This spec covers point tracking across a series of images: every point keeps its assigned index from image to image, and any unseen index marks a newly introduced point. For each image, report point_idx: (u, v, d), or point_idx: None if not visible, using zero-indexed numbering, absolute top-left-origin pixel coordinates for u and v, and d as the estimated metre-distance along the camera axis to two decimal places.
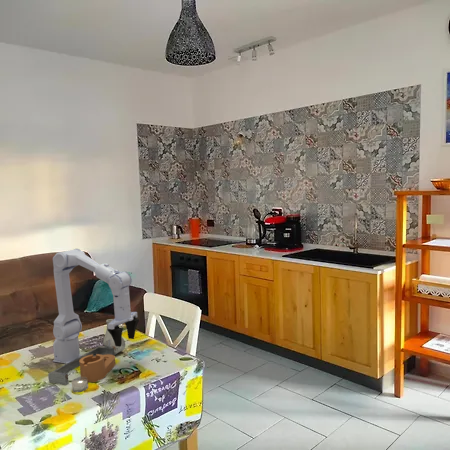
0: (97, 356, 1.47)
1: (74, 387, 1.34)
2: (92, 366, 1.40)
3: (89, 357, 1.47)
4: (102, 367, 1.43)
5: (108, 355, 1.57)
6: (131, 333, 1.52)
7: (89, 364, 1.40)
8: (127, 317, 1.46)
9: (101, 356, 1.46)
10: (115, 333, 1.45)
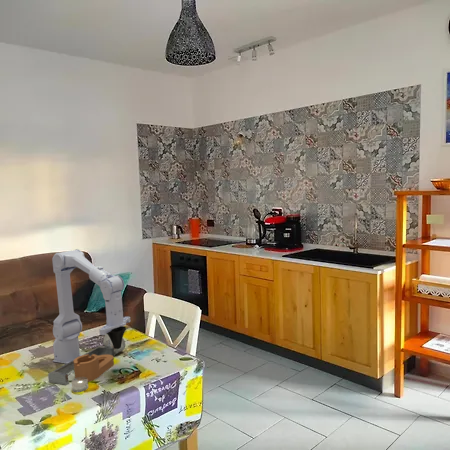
0: (92, 356, 1.47)
1: (74, 387, 1.34)
2: (84, 366, 1.40)
3: (85, 357, 1.47)
4: (95, 367, 1.43)
5: (107, 355, 1.57)
6: None
7: (81, 364, 1.40)
8: (119, 322, 1.42)
9: (95, 356, 1.45)
10: (113, 335, 1.44)
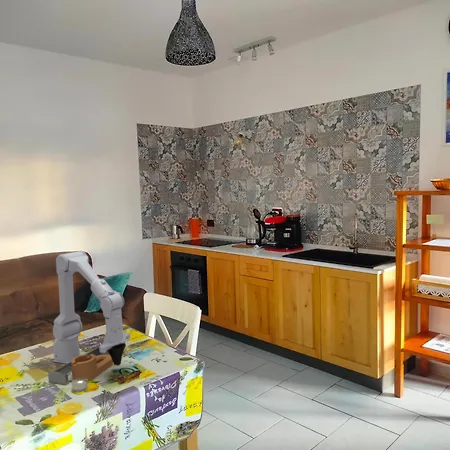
0: (90, 356, 1.47)
1: (74, 387, 1.34)
2: (81, 366, 1.41)
3: (83, 356, 1.47)
4: (92, 368, 1.43)
5: (107, 355, 1.57)
6: None
7: (78, 364, 1.41)
8: (119, 339, 1.43)
9: (93, 357, 1.45)
10: (113, 352, 1.45)
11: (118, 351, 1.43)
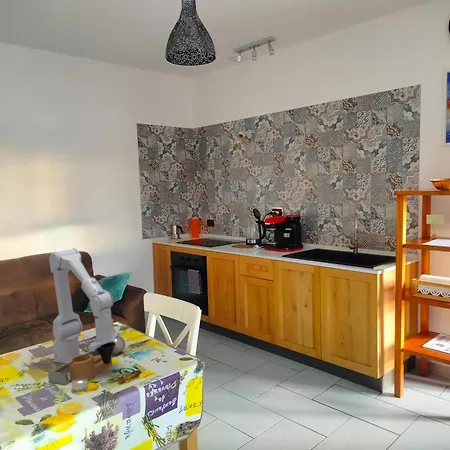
0: (88, 356, 1.47)
1: (74, 387, 1.34)
2: (77, 366, 1.41)
3: (81, 356, 1.48)
4: (89, 368, 1.43)
5: None
6: None
7: (75, 364, 1.41)
8: (108, 338, 1.45)
9: (90, 357, 1.46)
10: (103, 351, 1.47)
11: (107, 350, 1.45)
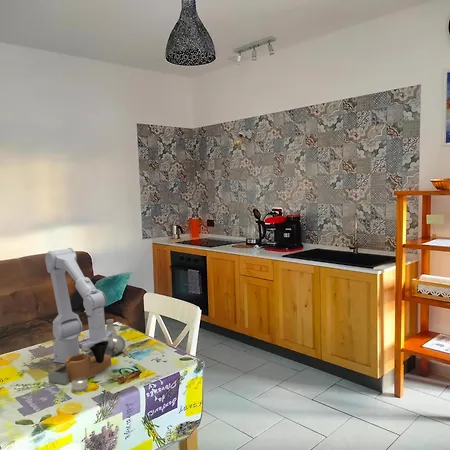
0: (85, 356, 1.48)
1: (74, 387, 1.34)
2: (73, 366, 1.41)
3: (79, 356, 1.48)
4: (85, 368, 1.43)
5: (106, 355, 1.57)
6: None
7: (70, 363, 1.42)
8: (101, 337, 1.46)
9: (87, 357, 1.46)
10: (96, 350, 1.48)
11: (100, 349, 1.46)
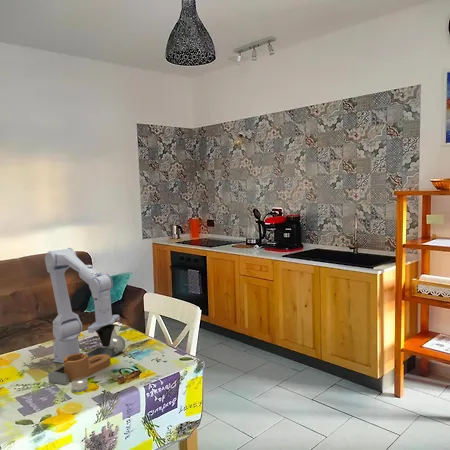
0: (83, 356, 1.48)
1: (74, 387, 1.34)
2: (70, 365, 1.42)
3: (77, 355, 1.49)
4: (81, 368, 1.43)
5: (106, 356, 1.57)
6: None
7: (67, 363, 1.42)
8: (108, 320, 1.44)
9: (85, 356, 1.46)
10: (102, 333, 1.46)
11: (107, 332, 1.44)
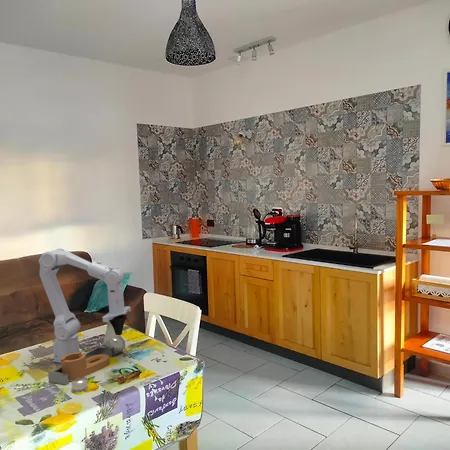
0: (81, 355, 1.48)
1: (74, 387, 1.34)
2: (66, 364, 1.43)
3: (76, 354, 1.50)
4: (78, 367, 1.44)
5: (105, 356, 1.57)
6: None
7: (64, 362, 1.43)
8: (121, 311, 1.56)
9: (82, 356, 1.46)
10: (115, 323, 1.57)
11: (119, 321, 1.55)
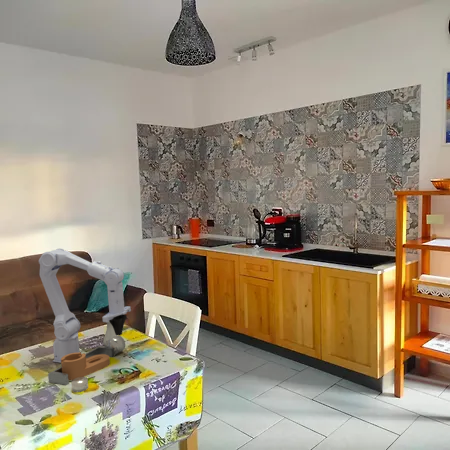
0: (81, 355, 1.48)
1: (74, 387, 1.34)
2: (66, 365, 1.43)
3: (76, 354, 1.50)
4: (78, 367, 1.44)
5: (105, 356, 1.56)
6: None
7: (64, 362, 1.43)
8: (121, 311, 1.56)
9: (82, 356, 1.46)
10: (115, 323, 1.57)
11: (119, 321, 1.55)
